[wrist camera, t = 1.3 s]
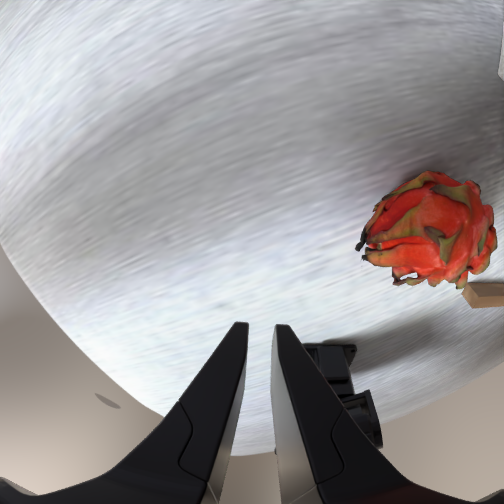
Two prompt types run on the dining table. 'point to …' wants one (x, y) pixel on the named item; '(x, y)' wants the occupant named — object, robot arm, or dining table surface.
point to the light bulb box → (502, 60)
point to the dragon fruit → (431, 231)
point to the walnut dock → (484, 294)
